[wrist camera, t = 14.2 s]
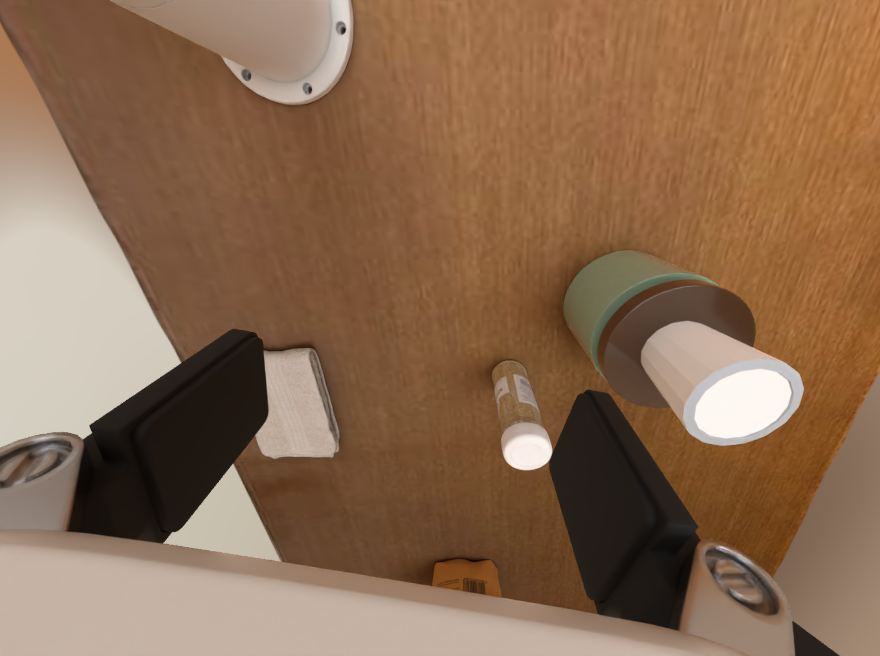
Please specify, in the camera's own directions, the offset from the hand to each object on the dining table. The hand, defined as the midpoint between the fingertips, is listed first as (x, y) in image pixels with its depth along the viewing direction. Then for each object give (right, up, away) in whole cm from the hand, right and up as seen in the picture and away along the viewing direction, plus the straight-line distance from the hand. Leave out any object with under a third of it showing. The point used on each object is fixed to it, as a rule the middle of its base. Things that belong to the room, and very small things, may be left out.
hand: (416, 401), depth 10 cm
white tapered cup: (+20, 0, +17) cm, 27 cm away
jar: (+21, +5, +28) cm, 35 cm away
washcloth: (-20, -8, +37) cm, 43 cm away
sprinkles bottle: (+10, -4, +33) cm, 34 cm away
